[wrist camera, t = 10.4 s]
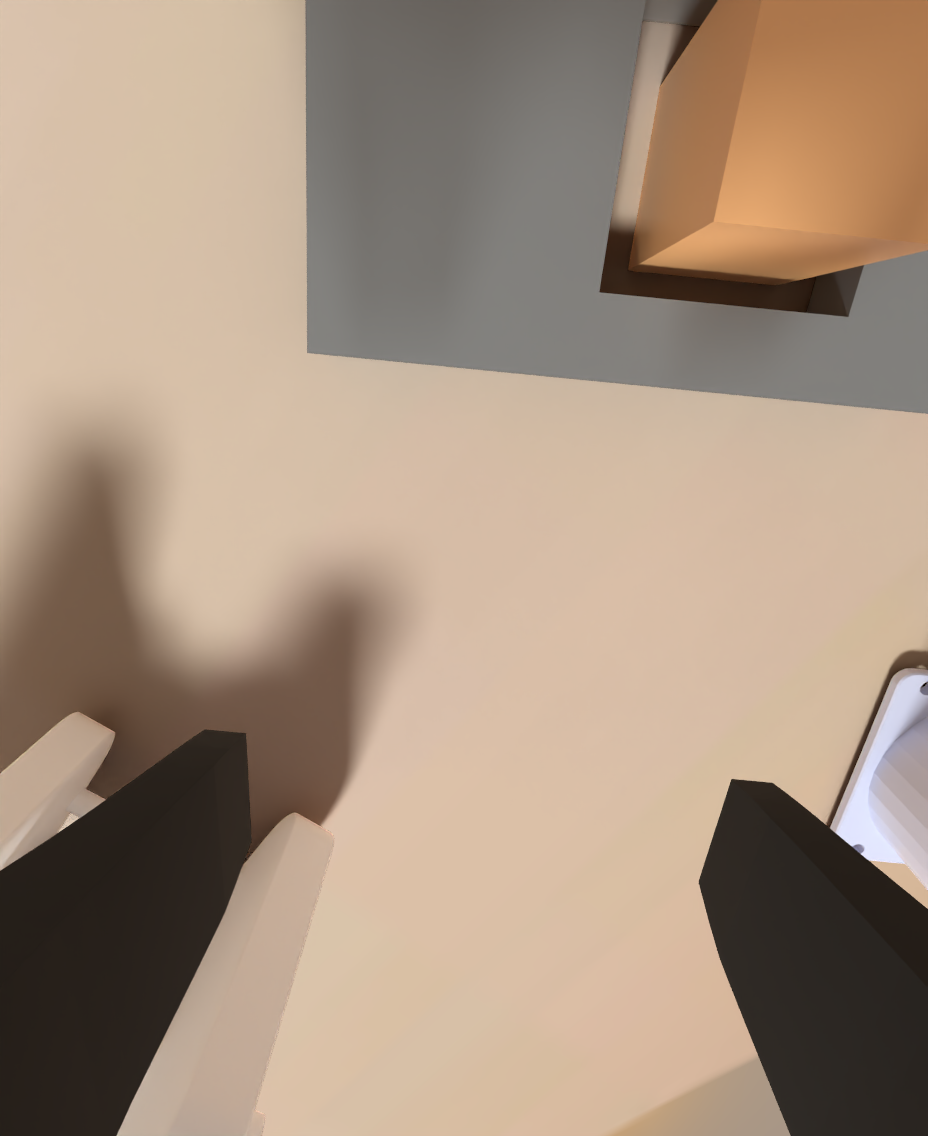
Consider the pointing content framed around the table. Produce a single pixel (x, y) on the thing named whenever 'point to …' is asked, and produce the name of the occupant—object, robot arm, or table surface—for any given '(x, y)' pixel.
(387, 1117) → the table surface
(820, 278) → the socket plate
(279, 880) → the cable organizer
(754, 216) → the orange rectangular block
